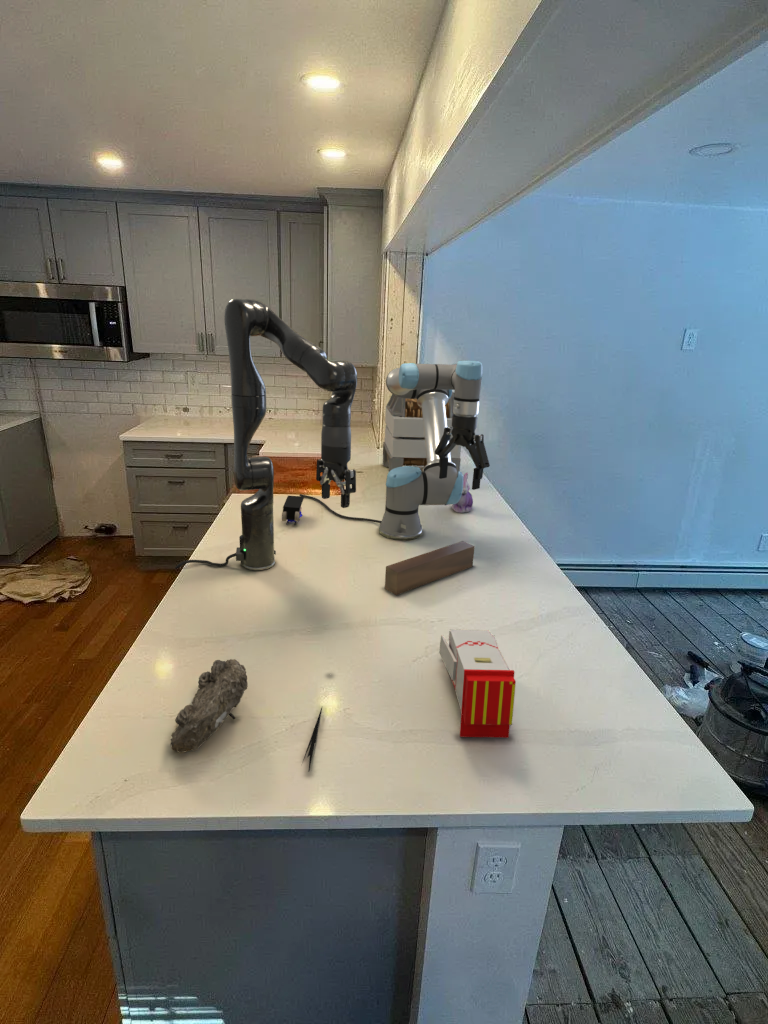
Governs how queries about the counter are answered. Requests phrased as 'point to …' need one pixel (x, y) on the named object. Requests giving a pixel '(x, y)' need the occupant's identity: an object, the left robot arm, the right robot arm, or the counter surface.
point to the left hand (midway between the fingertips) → (335, 502)
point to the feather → (313, 740)
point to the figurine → (464, 498)
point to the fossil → (210, 704)
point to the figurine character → (292, 509)
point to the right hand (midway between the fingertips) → (458, 483)
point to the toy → (479, 682)
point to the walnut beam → (428, 567)
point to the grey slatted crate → (410, 434)
